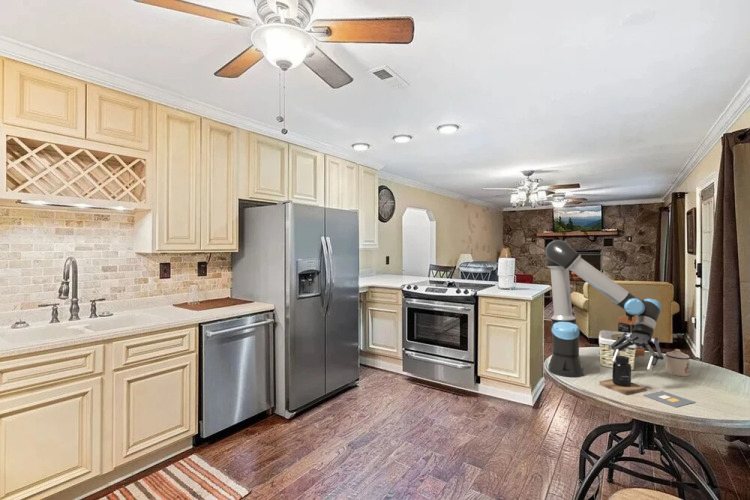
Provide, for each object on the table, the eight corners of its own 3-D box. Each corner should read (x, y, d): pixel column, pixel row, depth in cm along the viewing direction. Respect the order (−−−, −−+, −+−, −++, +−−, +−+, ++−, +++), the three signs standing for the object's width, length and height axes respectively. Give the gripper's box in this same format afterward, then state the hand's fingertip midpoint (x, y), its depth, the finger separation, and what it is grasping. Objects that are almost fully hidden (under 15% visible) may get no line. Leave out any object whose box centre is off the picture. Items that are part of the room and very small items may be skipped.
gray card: (643, 395, 153) (643, 395, 153) (662, 391, 157) (662, 390, 157) (675, 407, 142) (675, 407, 142) (695, 402, 146) (695, 402, 146)
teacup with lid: (690, 378, 172) (691, 353, 172) (665, 374, 178) (666, 350, 177) (688, 370, 182) (688, 347, 182) (664, 367, 187) (665, 344, 187)
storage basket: (599, 355, 209) (599, 328, 208) (634, 359, 200) (634, 332, 200) (598, 367, 188) (598, 338, 188) (637, 373, 180) (637, 342, 179)
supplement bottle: (624, 388, 157) (624, 360, 157) (608, 382, 163) (609, 355, 163) (634, 385, 160) (635, 358, 159) (618, 380, 166) (619, 353, 166)
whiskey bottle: (630, 350, 216) (630, 296, 215) (645, 355, 206) (646, 298, 205) (615, 351, 214) (615, 296, 213) (629, 357, 204) (629, 299, 204)
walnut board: (599, 384, 165) (599, 381, 165) (618, 381, 169) (618, 377, 169) (626, 395, 154) (626, 391, 154) (645, 390, 158) (645, 387, 158)
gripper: (679, 338, 165) (667, 379, 157) (617, 328, 186) (603, 363, 177) (675, 328, 162) (662, 369, 154) (612, 319, 183) (598, 355, 174)
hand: (630, 366), depth 166 cm, fingers open, 13 cm apart
